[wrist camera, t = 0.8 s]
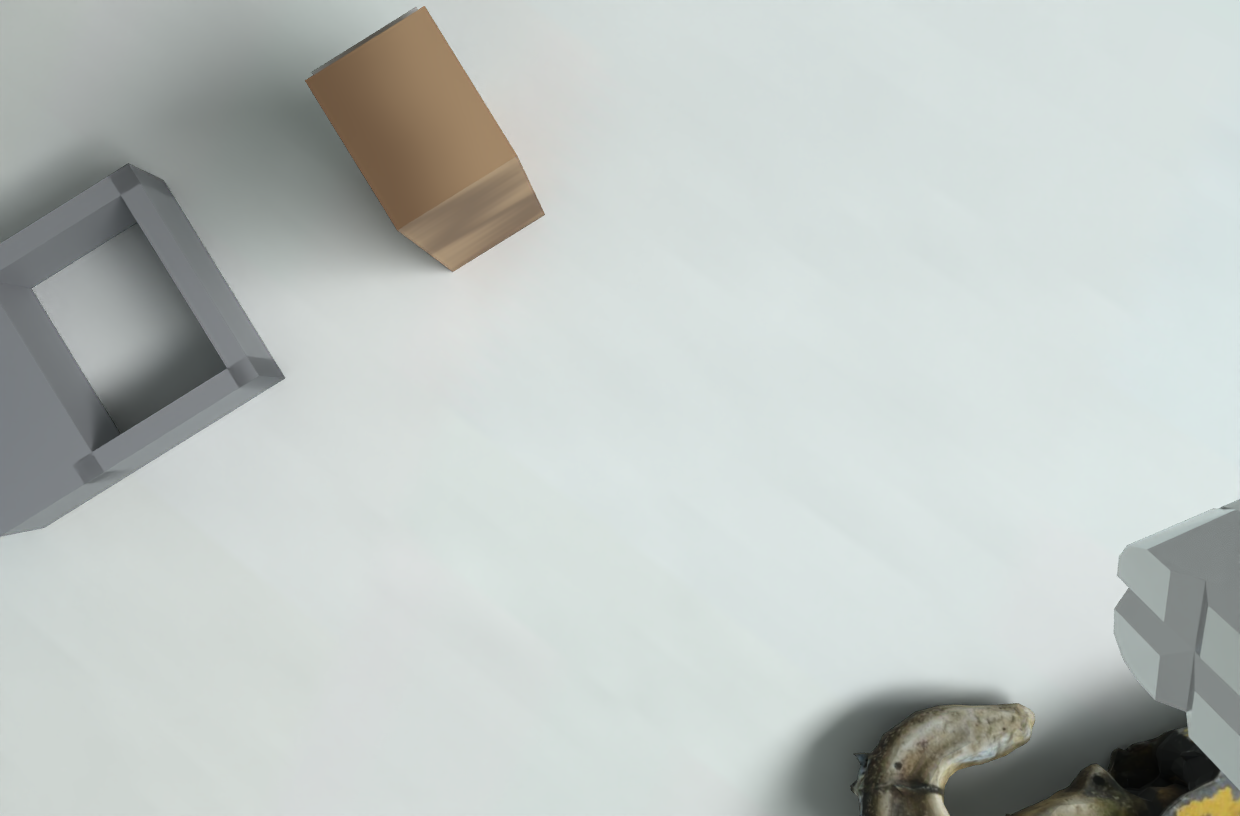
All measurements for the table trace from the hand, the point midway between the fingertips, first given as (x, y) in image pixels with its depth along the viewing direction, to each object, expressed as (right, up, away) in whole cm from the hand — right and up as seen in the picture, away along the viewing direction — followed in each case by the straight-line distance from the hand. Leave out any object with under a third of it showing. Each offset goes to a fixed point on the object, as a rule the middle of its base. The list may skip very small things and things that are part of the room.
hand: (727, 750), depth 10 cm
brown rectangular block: (-7, +11, +32) cm, 35 cm away
